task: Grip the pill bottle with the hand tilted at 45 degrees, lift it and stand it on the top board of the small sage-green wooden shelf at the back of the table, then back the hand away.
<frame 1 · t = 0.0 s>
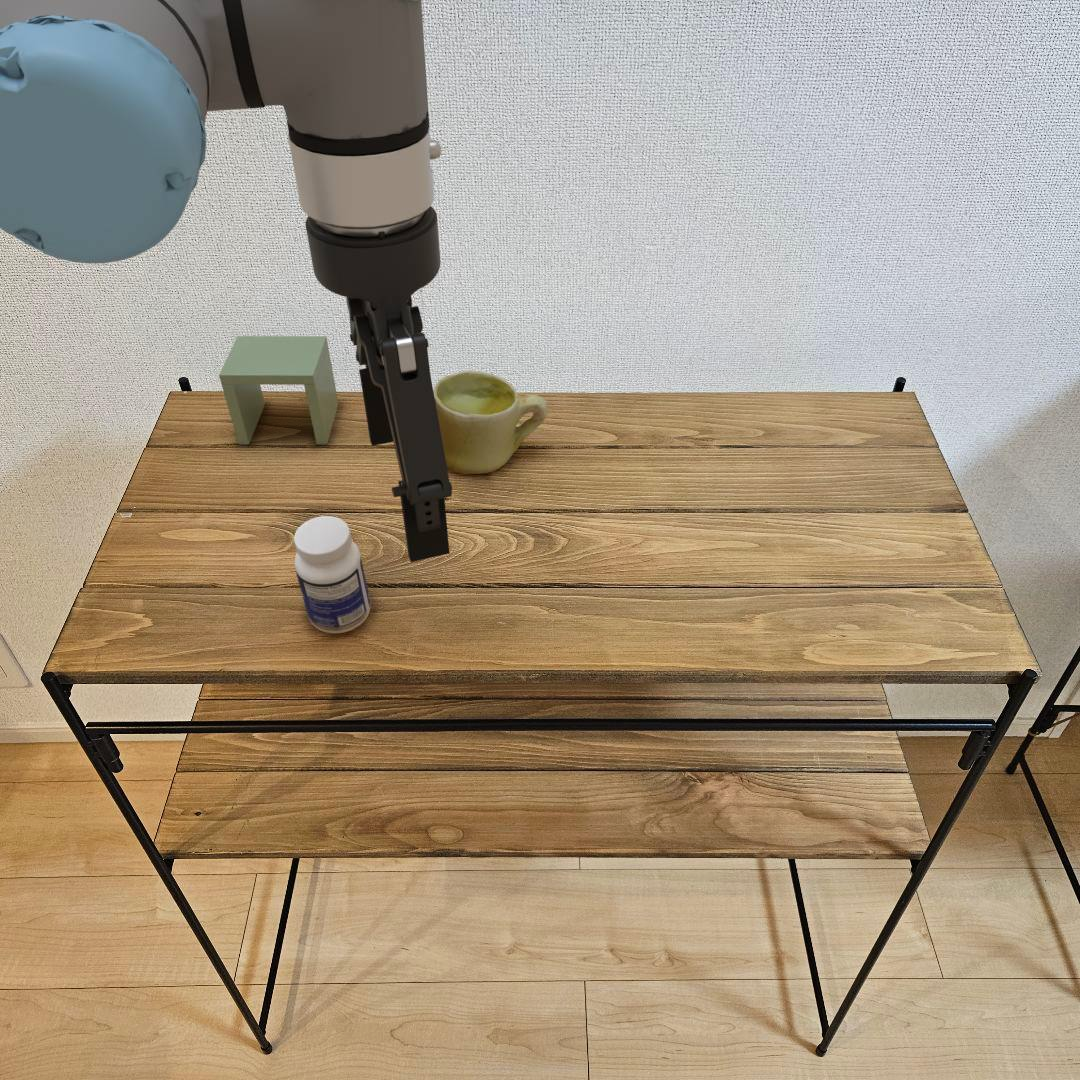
hand: (407, 493, 65), 19 cm above the table, tool pointing down, fingers open, 13 cm apart
mug: (490, 454, 99), on the table
pill bottle: (340, 614, 82), on the table
shelf: (290, 423, 103), on the table
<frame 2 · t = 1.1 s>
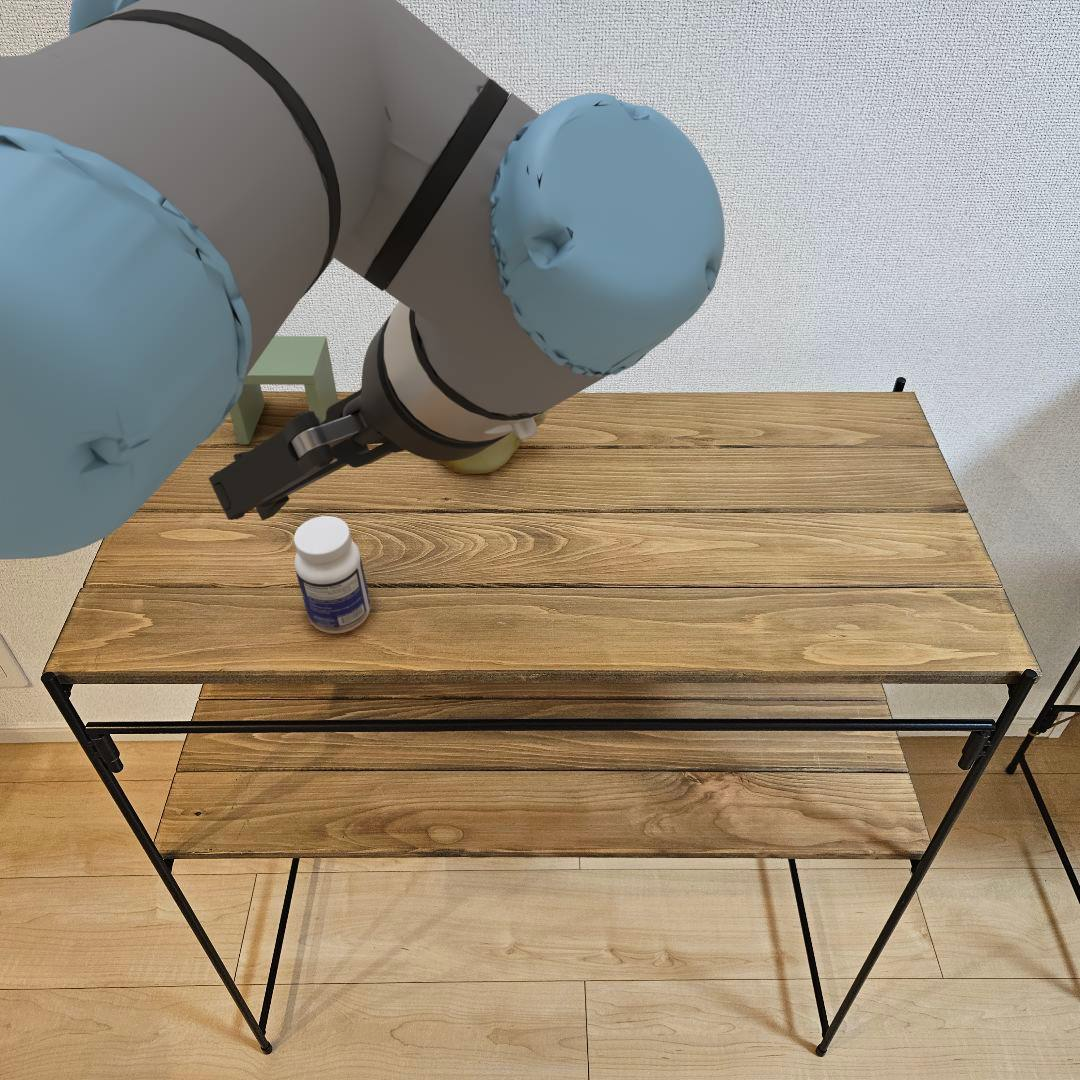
hand: (355, 459, 59), 25 cm above the table, tool tilted 45°, fingers open, 13 cm apart
nothing on the table moved.
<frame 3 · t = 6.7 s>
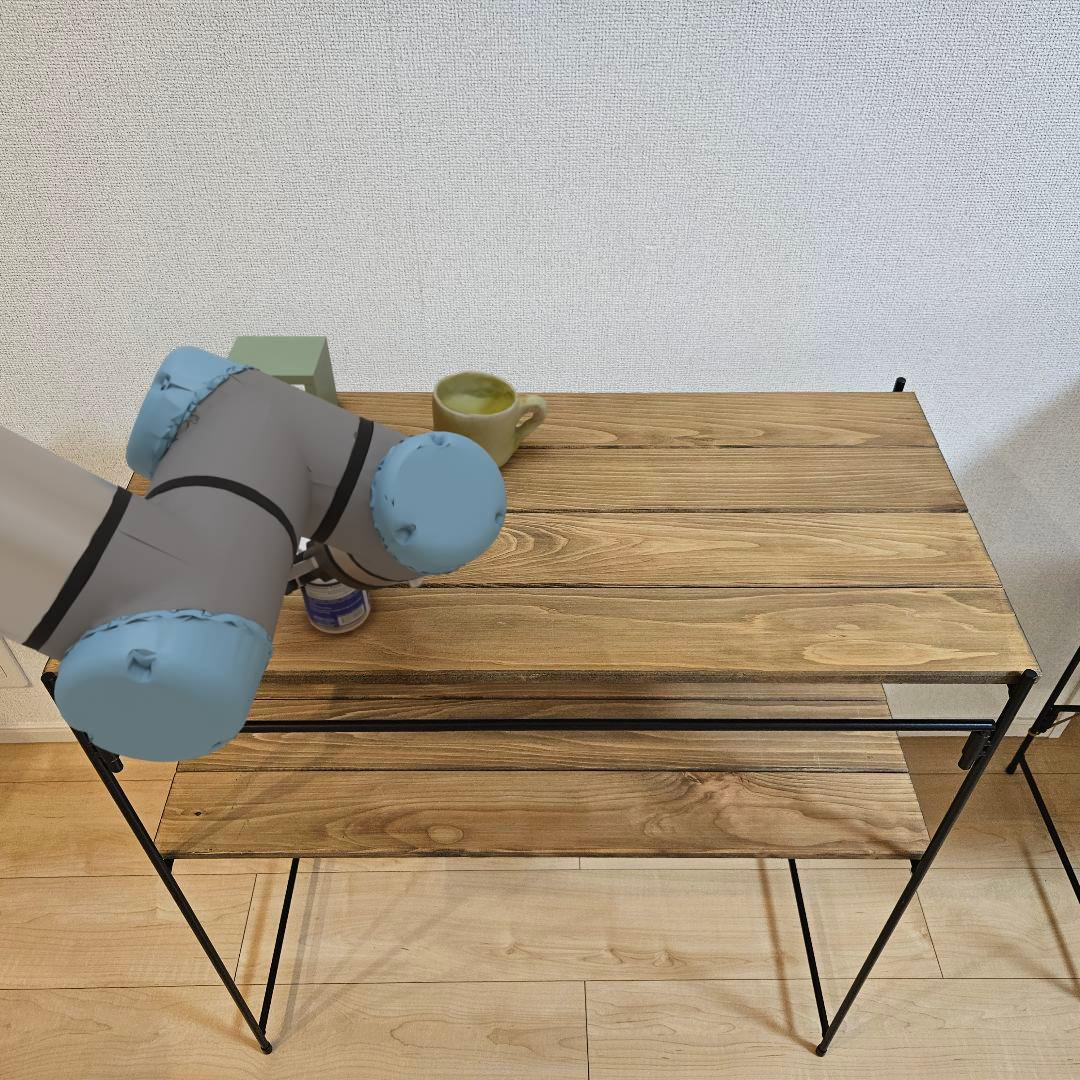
hand: (316, 564, 82), 3 cm above the table, tool tilted 45°, fingers closed on pill bottle, 6 cm apart
pill bottle: (340, 614, 82), on the table, touching gripper
everything else where it was.
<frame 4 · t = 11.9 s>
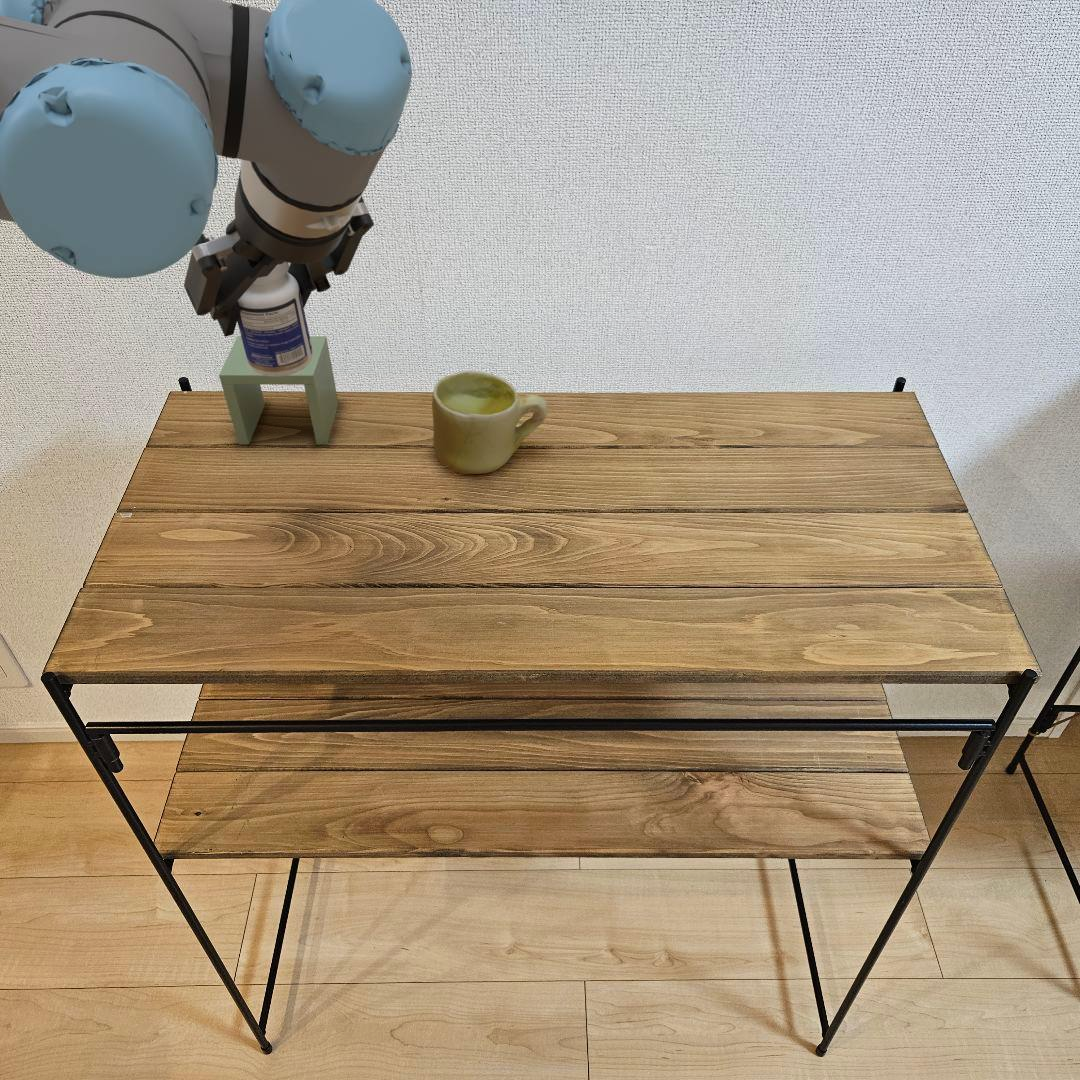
hand: (257, 311, 79), 21 cm above the table, tool tilted 45°, fingers closed on pill bottle, 6 cm apart
pill bottle: (281, 363, 80), point 18 cm above the table, touching gripper
everything else where it was.
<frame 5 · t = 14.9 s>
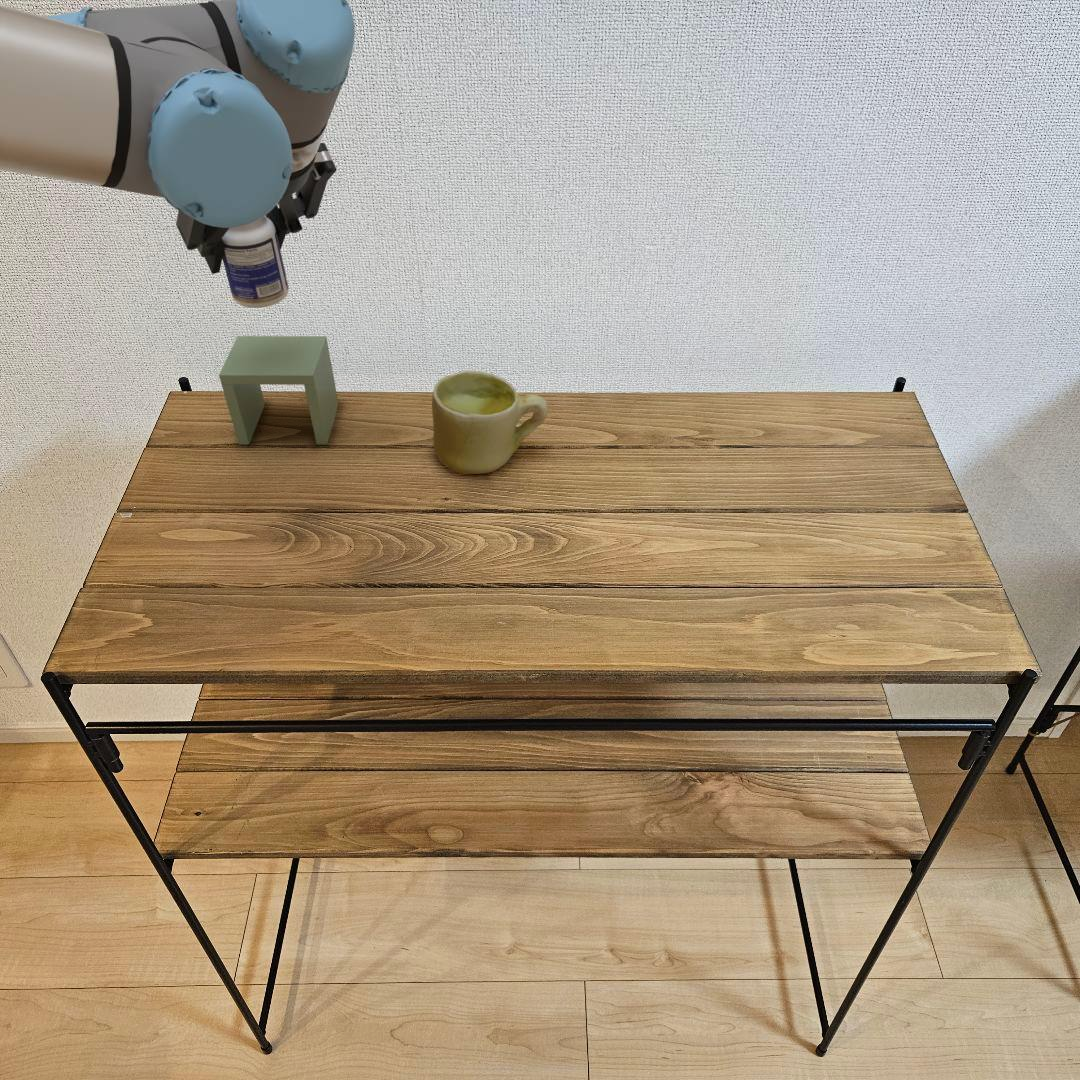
hand: (240, 252, 92), 20 cm above the table, tool tilted 45°, fingers closed on pill bottle, 6 cm apart
pill bottle: (261, 298, 92), point 16 cm above the table, touching gripper
everything else where it was.
when the fingers open (13 cm above the table, at t = 17.1 s): pill bottle stays where it is, resting on shelf.
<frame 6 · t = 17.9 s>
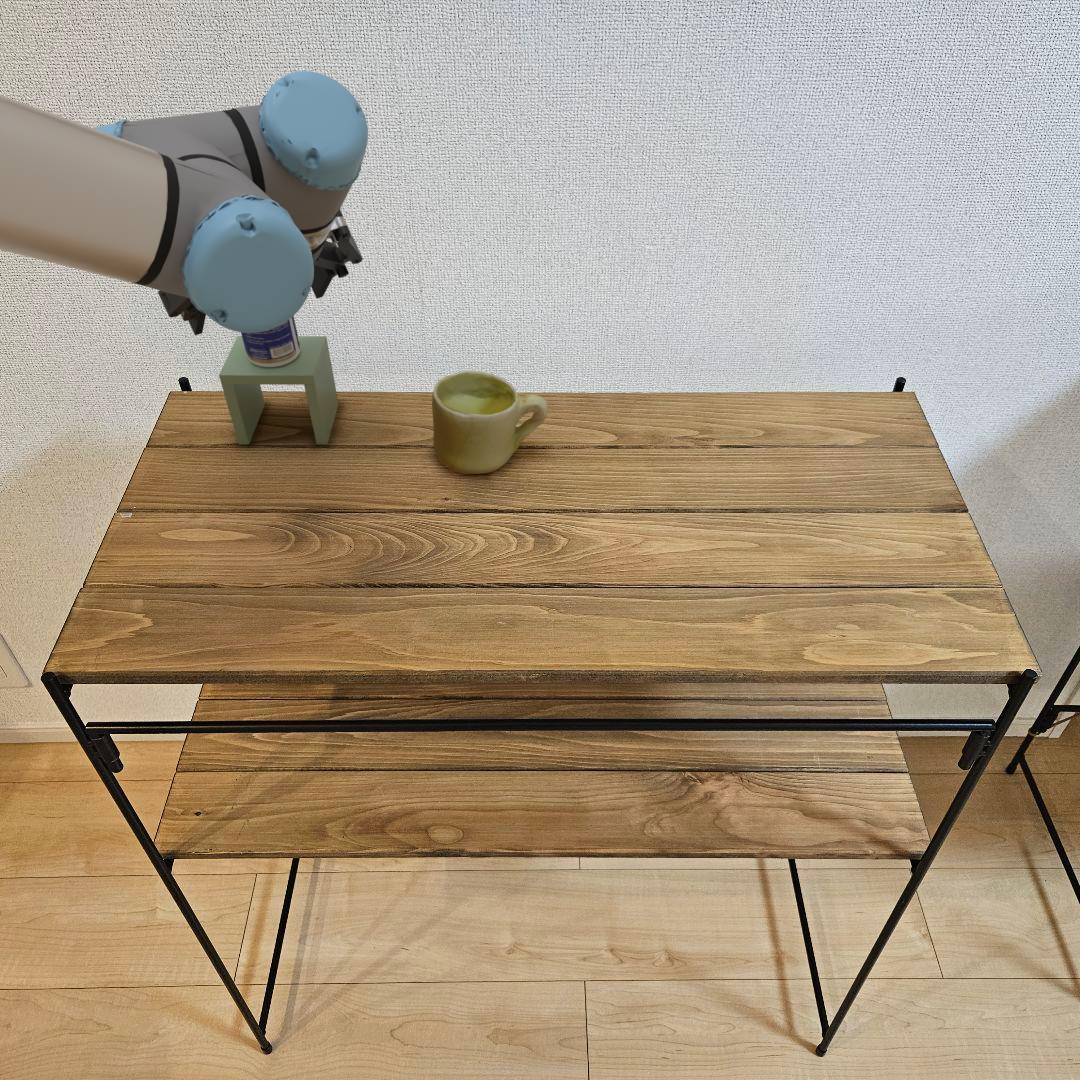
hand: (255, 303, 95), 14 cm above the table, tool tilted 45°, fingers open, 13 cm apart
pill bottle: (274, 356, 97), point 9 cm above the table, touching shelf
everything else where it was.
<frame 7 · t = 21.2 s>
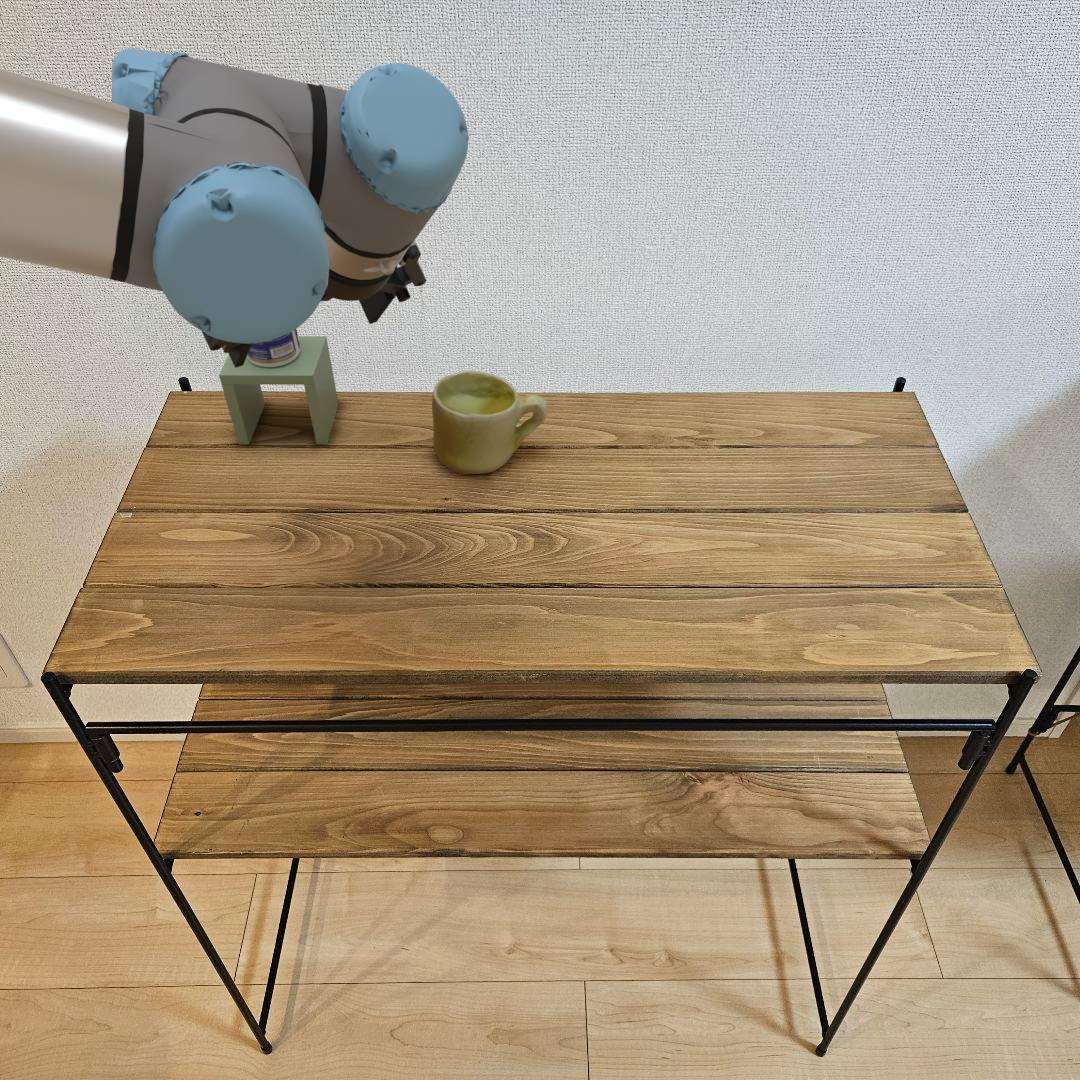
hand: (302, 331, 83), 18 cm above the table, tool tilted 45°, fingers open, 13 cm apart
nothing on the table moved.
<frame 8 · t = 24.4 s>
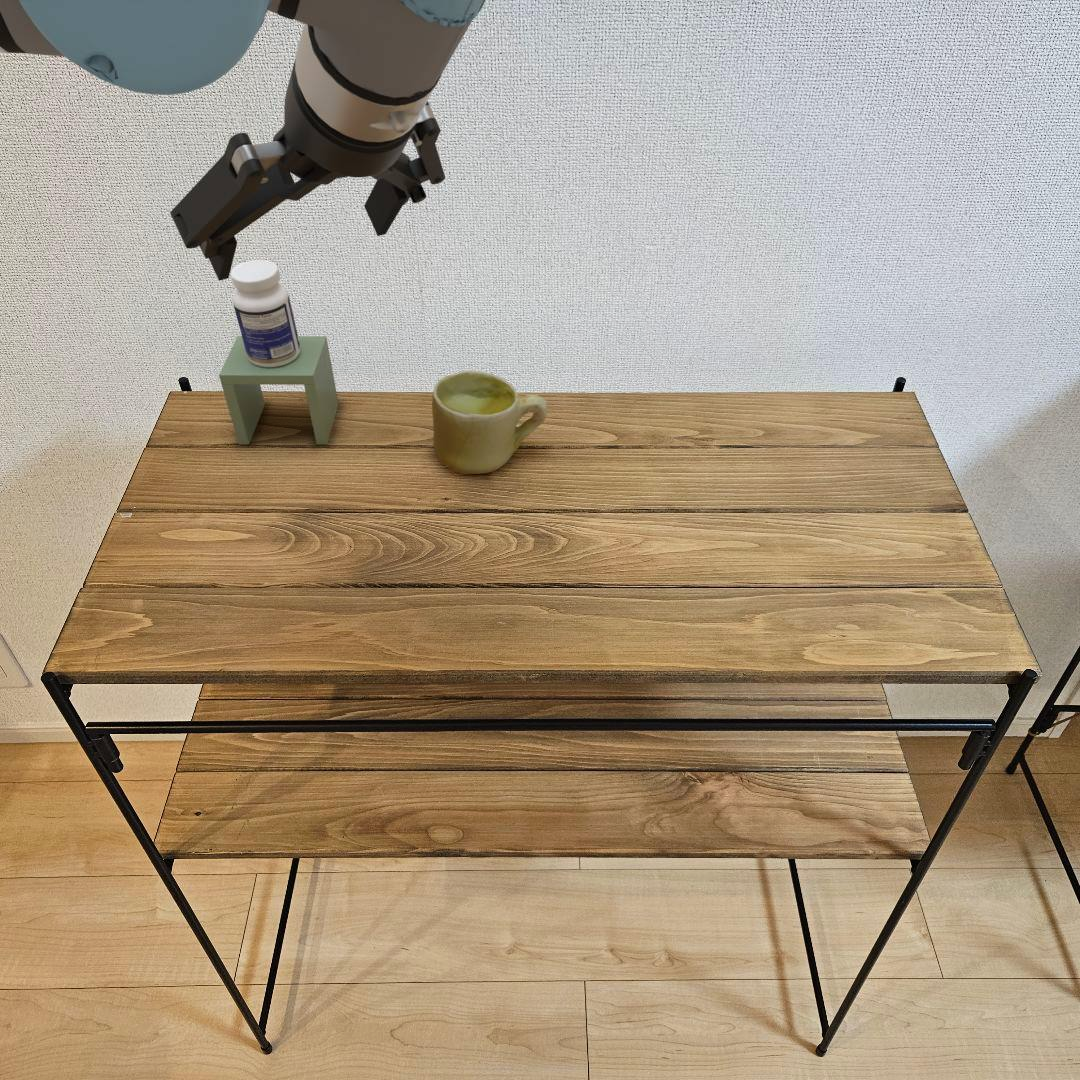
hand: (298, 240, 71), 30 cm above the table, tool tilted 45°, fingers open, 13 cm apart
nothing on the table moved.
at the end: pill bottle inside the target area on the shelf (0.1 cm from its centre), point 9.0 cm above the shelf's base; pill bottle tilted 0°; the gripper is holding nothing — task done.
